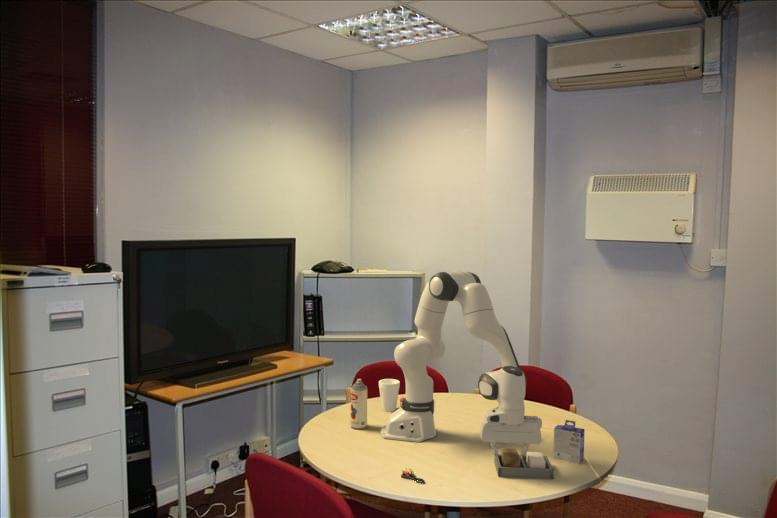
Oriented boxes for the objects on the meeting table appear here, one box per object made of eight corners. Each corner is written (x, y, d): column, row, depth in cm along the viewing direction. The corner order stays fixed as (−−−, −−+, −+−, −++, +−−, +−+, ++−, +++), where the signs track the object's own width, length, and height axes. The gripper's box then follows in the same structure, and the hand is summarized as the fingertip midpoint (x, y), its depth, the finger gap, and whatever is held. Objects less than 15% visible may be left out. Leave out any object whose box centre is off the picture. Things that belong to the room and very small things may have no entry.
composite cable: (426, 483, 198) (426, 476, 198) (414, 487, 195) (414, 479, 195) (409, 473, 206) (409, 466, 206) (397, 476, 203) (397, 469, 203)
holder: (498, 479, 201) (498, 467, 200) (494, 465, 213) (494, 454, 212) (553, 481, 200) (553, 470, 199) (546, 467, 211) (546, 455, 211)
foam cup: (380, 406, 279) (380, 378, 279) (400, 407, 278) (400, 379, 277) (377, 412, 270) (377, 383, 269) (397, 413, 269) (398, 384, 268)
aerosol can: (347, 425, 252) (348, 378, 251) (362, 423, 256) (362, 376, 254) (355, 430, 246) (355, 382, 245) (370, 427, 250) (370, 380, 248)
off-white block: (529, 475, 202) (530, 460, 202) (526, 465, 210) (526, 451, 210) (545, 476, 202) (545, 461, 201) (540, 466, 210) (541, 452, 209)
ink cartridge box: (584, 461, 217) (585, 422, 216) (580, 467, 212) (581, 426, 211) (556, 456, 222) (558, 417, 221) (552, 461, 217) (553, 421, 216)
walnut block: (504, 474, 202) (504, 457, 202) (501, 464, 210) (501, 448, 210) (519, 475, 202) (519, 457, 202) (515, 465, 210) (516, 448, 210)
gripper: (540, 413, 208) (539, 452, 209) (480, 410, 209) (479, 449, 210) (543, 419, 201) (542, 459, 202) (482, 416, 203) (480, 457, 204)
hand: (509, 454), depth 206 cm, fingers open, 8 cm apart
